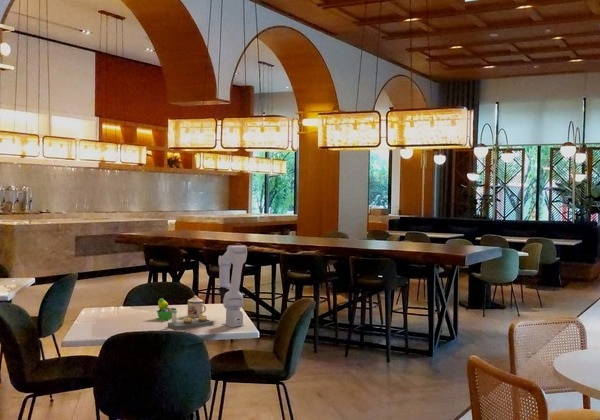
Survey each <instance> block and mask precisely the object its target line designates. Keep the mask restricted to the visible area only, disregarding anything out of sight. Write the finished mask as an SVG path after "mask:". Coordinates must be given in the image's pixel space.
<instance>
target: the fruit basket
mask: <svg viewBox="0 0 600 420" xmlns="http://www.w3.org/2000/svg"><path fill="white" fill-rule="evenodd" d="M157 303H158V305H157V307H158V310H156V313H157V316H158V320H159V321H170V320H172V310H176V311H177V308H175V307H169V303H168V302H167V301H166V300H165V299H164V298H162V297H161V298H159V299H158V301H157Z"/></svg>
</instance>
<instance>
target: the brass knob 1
mask: <svg viewBox="0 0 600 420" xmlns="http://www.w3.org/2000/svg"><path fill="white" fill-rule="evenodd" d="M192 320H193V317H188V316H186V317H183V321H184V323H186V324H189V323H192Z"/></svg>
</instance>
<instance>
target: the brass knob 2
mask: <svg viewBox="0 0 600 420" xmlns="http://www.w3.org/2000/svg"><path fill="white" fill-rule="evenodd" d="M207 318H208V317H207V315H203V316H198V317H197V319H198V321H200V322H204V321H206V320H208V319H207Z"/></svg>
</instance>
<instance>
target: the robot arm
mask: <svg viewBox="0 0 600 420" xmlns="http://www.w3.org/2000/svg"><path fill="white" fill-rule="evenodd" d="M247 257H248V248H247V246H246V245H245V244H244V245H228V246H227V247H226V251H225V252H224V254H223V255H219V256H218V266H219V269H218V270H219V271H218V272H219V274H218V279H219V280H218V281H219V282H216V283H215V287H216V288H217V290H218V293H219V295H220V300H221V302H222V304H223V305H222V306H223V307H224V308H225V322H223V323H222V325H224V326H228V327H231V328H236V327H243V326H245V324H244V313H243V311H242V310H241V308H242V307H243V306H244V296H243V293H241V291H240V286H241V278H242V270H243V266H244V264H245V263H246V261H247ZM231 266H232V267H231ZM231 268H232V271H231V272H232V273H231V278H230V270H231ZM230 279H231V280H230Z"/></svg>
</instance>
